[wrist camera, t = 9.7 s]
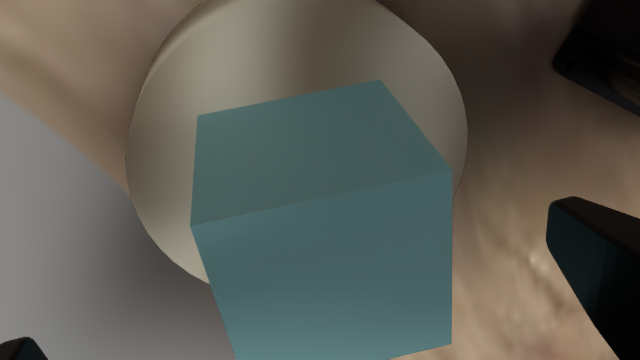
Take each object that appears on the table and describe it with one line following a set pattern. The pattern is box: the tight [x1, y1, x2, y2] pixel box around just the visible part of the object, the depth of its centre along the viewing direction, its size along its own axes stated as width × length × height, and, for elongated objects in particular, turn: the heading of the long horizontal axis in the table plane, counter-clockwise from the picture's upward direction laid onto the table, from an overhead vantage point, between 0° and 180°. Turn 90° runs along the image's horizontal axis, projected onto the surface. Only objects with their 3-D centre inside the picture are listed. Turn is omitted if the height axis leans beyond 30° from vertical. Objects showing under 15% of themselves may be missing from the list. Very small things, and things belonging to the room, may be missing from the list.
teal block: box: [190, 79, 452, 360], centre depth 15 cm, size 6×6×6 cm
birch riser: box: [126, 0, 468, 284], centre depth 20 cm, size 12×12×4 cm
